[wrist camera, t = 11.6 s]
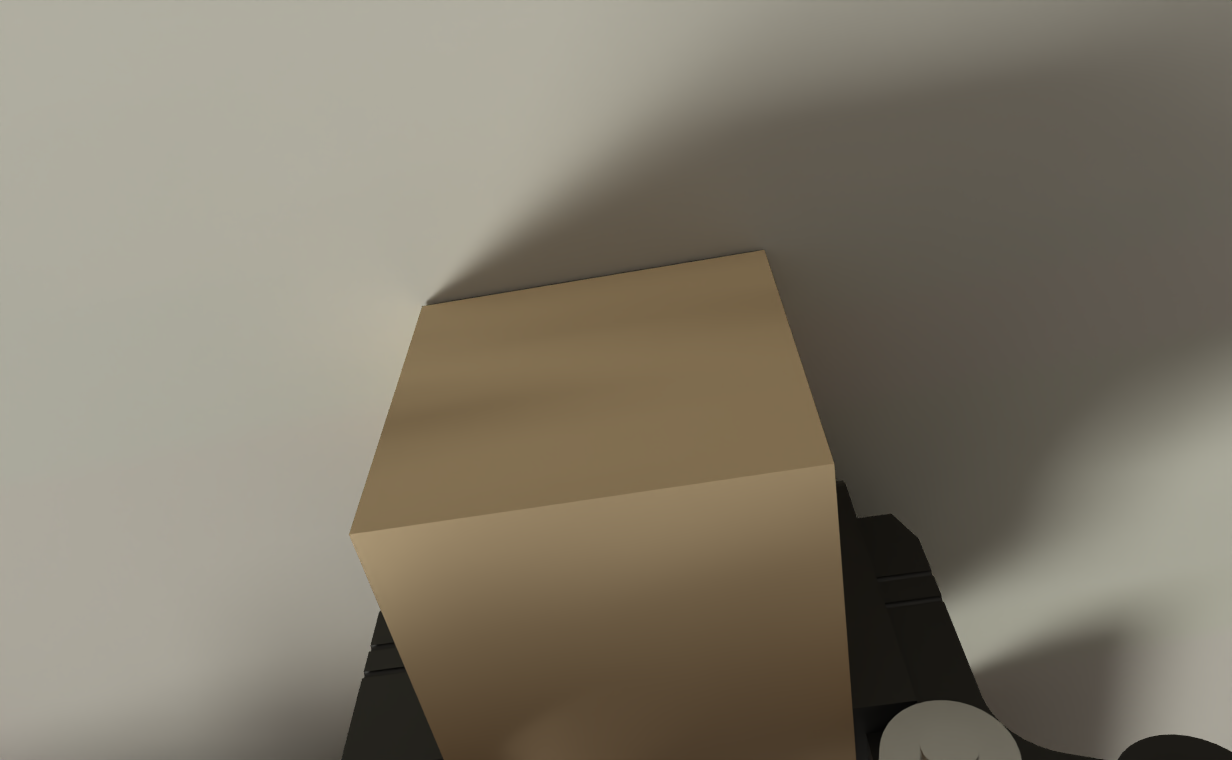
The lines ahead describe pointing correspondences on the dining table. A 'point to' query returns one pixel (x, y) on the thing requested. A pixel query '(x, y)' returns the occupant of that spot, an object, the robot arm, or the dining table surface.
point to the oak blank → (613, 524)
